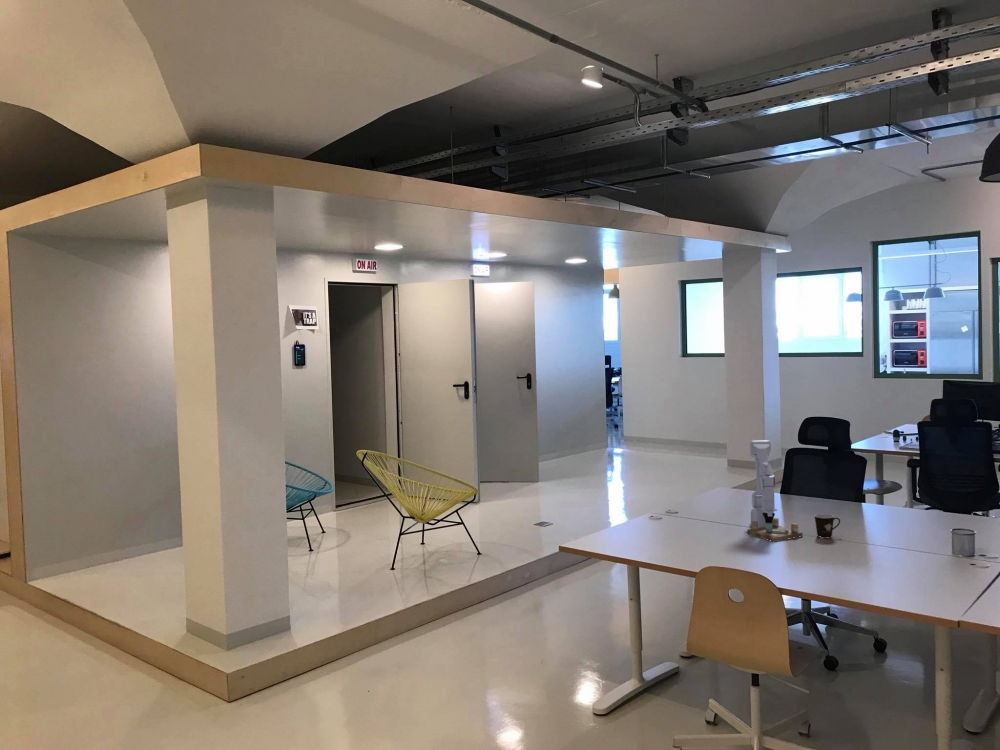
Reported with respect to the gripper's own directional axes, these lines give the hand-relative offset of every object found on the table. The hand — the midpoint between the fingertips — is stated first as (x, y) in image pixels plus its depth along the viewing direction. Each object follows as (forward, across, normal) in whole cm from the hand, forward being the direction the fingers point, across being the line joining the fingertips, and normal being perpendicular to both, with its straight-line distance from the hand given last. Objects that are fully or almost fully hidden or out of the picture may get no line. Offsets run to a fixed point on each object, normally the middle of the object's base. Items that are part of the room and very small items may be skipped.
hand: (768, 527), depth 374 cm
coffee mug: (+4, 0, -27) cm, 27 cm away
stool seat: (+4, +1, -3) cm, 5 cm away
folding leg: (+1, -3, -4) cm, 5 cm away
